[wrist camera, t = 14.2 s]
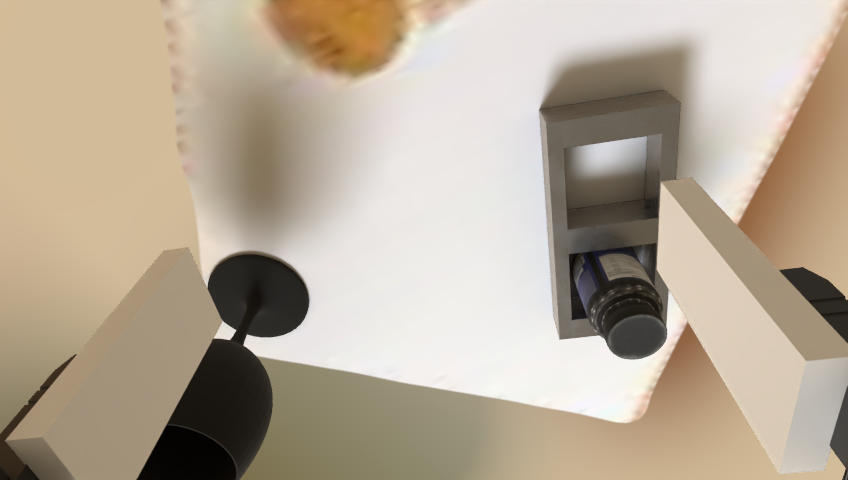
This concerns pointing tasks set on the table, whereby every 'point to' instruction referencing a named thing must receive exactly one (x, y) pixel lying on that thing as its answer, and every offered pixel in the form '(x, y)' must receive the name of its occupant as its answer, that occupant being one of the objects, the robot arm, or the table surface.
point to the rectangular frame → (610, 221)
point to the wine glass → (230, 376)
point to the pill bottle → (620, 301)
